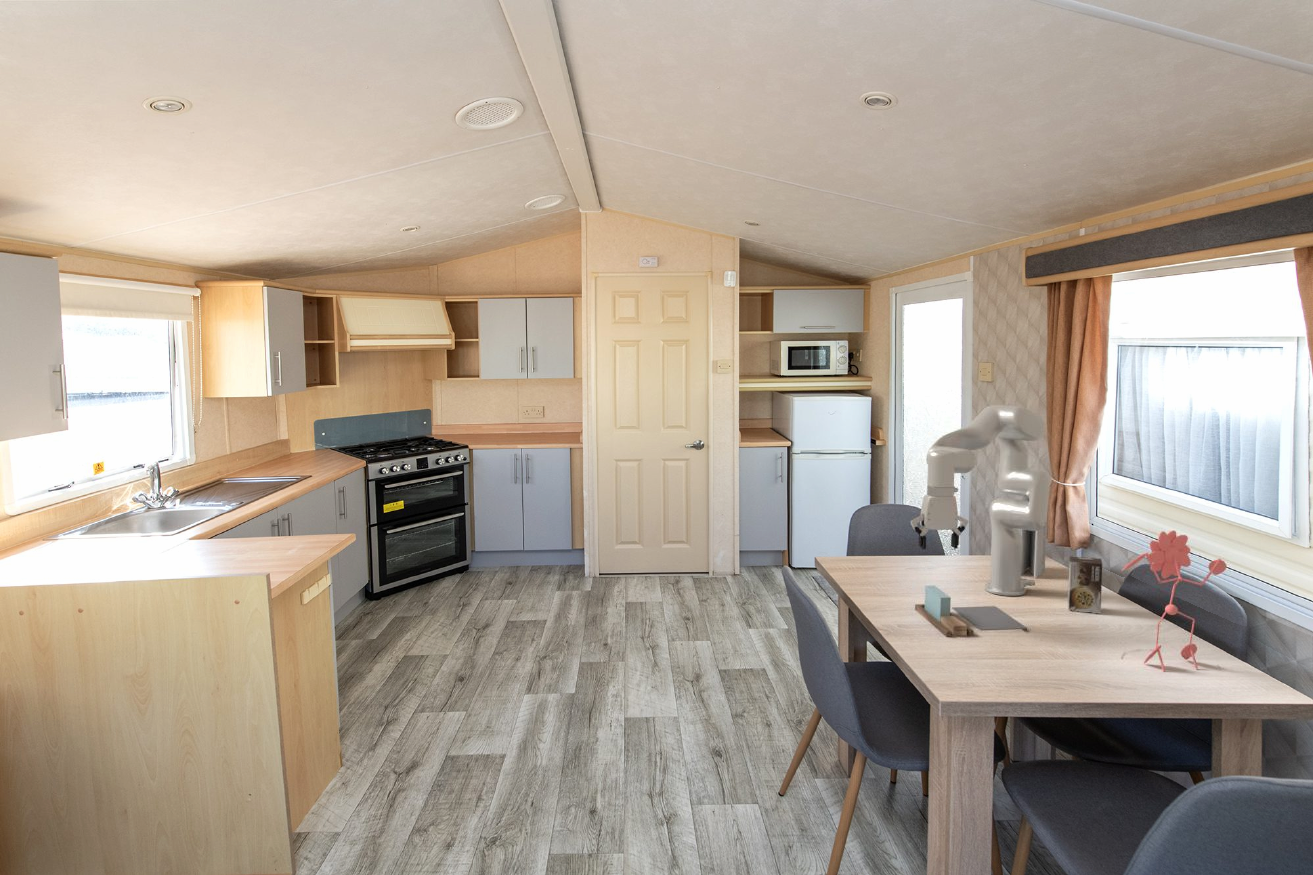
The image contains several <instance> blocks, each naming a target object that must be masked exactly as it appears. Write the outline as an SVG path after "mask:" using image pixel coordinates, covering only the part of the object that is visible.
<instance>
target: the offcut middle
mask: <svg viewBox="0 0 1313 875" xmlns="http://www.w3.org/2000/svg"><path fill="white" fill-rule="evenodd" d="M941 623H942V622H941ZM942 624H943V623H942ZM943 625H944V624H943ZM944 626H945V627H946V628H948V627H947V626H946V625H944ZM948 629H949V628H948ZM949 630H950V631H951V636H952V637H966V636H968V635H967V631H952V630H951V629H949Z"/></svg>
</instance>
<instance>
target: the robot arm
mask: <svg viewBox="0 0 1313 875" xmlns="http://www.w3.org/2000/svg"><path fill="white" fill-rule="evenodd" d="M1045 432H1046V423H1045V420H1044V419H1043V418H1042V416H1040V415H1039V414H1037V413H1035V412H1033V411H1032V410H1030V409H1027V408H1025V407H1022V406H1018V405H1002V404H991V405H988V406H986V407H985V408H983V410H982V411H981V412H979V414H978V415H976V417H975V418H974V419H972V421H971V422H970V423H969V424H968V425H967V426H965V427H961V428H959V429H956V430H953V431H951V432H948V433H946V434H944V435H942V436H941V437H939V438H938V439H937V440H936V441H935V442H934V443H933V444H932V445H931V446H930V447H929V449H928V451H927V452H926V453H927V454H926V456H925V457H926V465H927V482H926V484H927V485H926V486H927V488H926V494H925V495H924V496H923V498H922V502H921V507H920V508H921V509H920V515H919V516H917V517H915V518H914V519H911V520H910V525H911V526H912V529H913V530H914V531H915V532H916V533H917V535H918V546H919V548H921V549H922V550H926V548H927V536H926V534H927V533H928V532H929V531H945V530H946V531H947V530H948V531H952V533H951V535H950V537H951V538H950V539H951V540H950V547H952V548H953V549H956V550H957V549H958V547H959V544H960V543H959V542H960V536H961V534H962V533H964V531H965V530H966V527H967V525H968V523H969V520H968V519H966V518H964V517H962V516H960V515H959V512H958V503H957V497H956V496H955V493H958V492H959V488H958V487H955V474H968V473H970V472H972V470H974V469H975V466H976V464H977V457H976V454H975V453H974V452H973V451H977V450H981V449H983V448H984V449H985V448H986V447H988V446H989V445H990V444H991V443H992V442H993V441H994V440H995V439H996V442H997V444H998V446H999V450H1000V455H999V459H1000V460H999V466H998V476H997V487H998V490H999V491H1000V492H1002V493H1004V494H1007V495H1013V496H1019V497H1020V496H1021V497H1022V496H1027V497H1029V501H1025V500H1022V499H1017V498H1010V497H998V498H996V499H994V500H992V502H991V503H990V506H989V509H988V512H989V513H988V514H989V519H990V528H991V544H990V571H989V573H990V574H989V582H988V583H986V584H985V585H984V590H986V592H988V593H991V594H994V595H1000V596H1007V597H1019V596H1023V595H1025V594H1026V588H1025V587H1027V586H1031V587H1034V586H1036V580H1034V579H1027V578H1022V575H1021V563H1022V538H1021V532H1019V530H1021V529H1023V530H1029V531H1039V530H1041V529H1042V528H1043V527H1044V525H1045V522H1046V516H1047V517H1048V512H1047V508H1048V509H1049V498H1050V491H1051V490H1050V489H1051V487H1050V486H1051V484H1050V483H1051V481H1050V477H1049V474H1048V472H1046V471H1045V470H1044V469H1040V468H1035V467H1029V466H1028V462H1029V450H1028V447H1027V445H1026V443H1025V442H1026V441H1027V442H1036V441H1037V442H1038V441H1039V440H1041V439H1042V438H1043V436H1044V434H1045ZM959 522H960V525H959V526H958V524H959ZM918 524H920V527H919V526H918Z"/></svg>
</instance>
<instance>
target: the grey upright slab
mask: <svg viewBox="0 0 1313 875" xmlns="http://www.w3.org/2000/svg"><path fill="white" fill-rule="evenodd" d="M1021 497H1022V499H1021V500H1025V501H1029V497H1027V496H1021ZM1048 509H1049V507H1048V508H1047V513H1048V512H1049V511H1048ZM1047 531H1048V515H1047V516H1046V522H1045V525H1044V527H1043V528H1042V529H1041V530H1039V531H1029V530H1023V529H1020V535H1021V538H1022V563H1021V576H1022V575H1023V574H1024V573H1025V572H1026V571H1028V569H1029V570H1030V572H1031V574H1032V575H1033V577H1034V579H1037V578H1038V577H1039V576H1040V575H1041V574H1042V573H1043V572H1044V571H1045V570H1046V555H1047V533H1048V532H1047Z"/></svg>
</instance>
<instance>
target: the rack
mask: <svg viewBox="0 0 1313 875" xmlns="http://www.w3.org/2000/svg"><path fill="white" fill-rule="evenodd" d="M914 605H915V606H914V610H915V612H917V613H918V614H919V615H921V616H922V617H923V618H924V619H925V620H926V621H927V622H929V624H931V626H933V627H934V628H935V629H937V630H938V632H940V633H941V634H942V635H943V636H945V637H946V638H951V636H952V635H951V631H950V630H949V629H948V628H946V627H945V626H944V625H943V624H942V623H940V622H939V621H938V620H937V619H936V618H935V617H933V616H932V615H931V614H930V613H929V612H927V611H926V610H925V603H923V604H922V603H920V604H919V603H918V604H914ZM950 616H954V617H956V618H957V619H959V618H958V617H957V616H956V615H954V614H953V613H952V612H951V611H950ZM959 620H960V621H961V622H963V620H961V619H959ZM963 623H964V624H965V625H967V624H966V623H965V622H963ZM974 631H975V630H974V629H972V628H971V627H970V626H968V625H967V636H968V637H974Z"/></svg>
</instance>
